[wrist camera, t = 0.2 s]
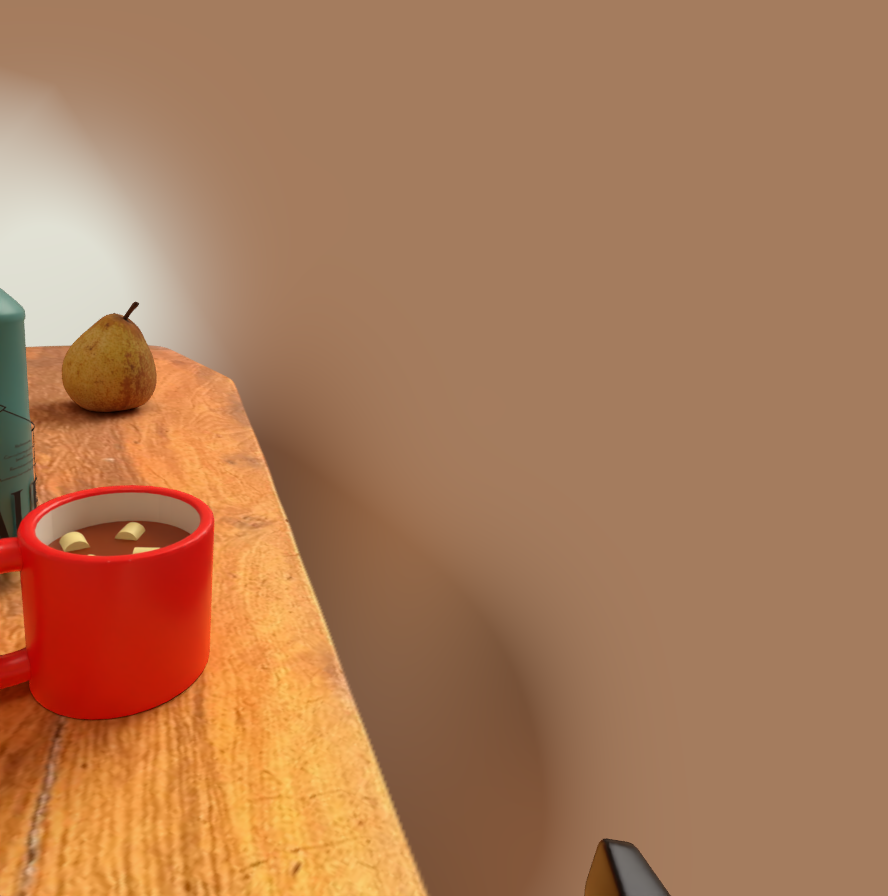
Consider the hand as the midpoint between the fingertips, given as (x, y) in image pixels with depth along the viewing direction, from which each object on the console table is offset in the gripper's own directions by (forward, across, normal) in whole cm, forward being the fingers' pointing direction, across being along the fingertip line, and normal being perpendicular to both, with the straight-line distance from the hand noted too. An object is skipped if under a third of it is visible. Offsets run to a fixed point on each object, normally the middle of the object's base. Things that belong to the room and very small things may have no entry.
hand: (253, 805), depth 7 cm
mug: (+17, +14, +14) cm, 26 cm away
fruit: (+56, +36, +14) cm, 68 cm away
